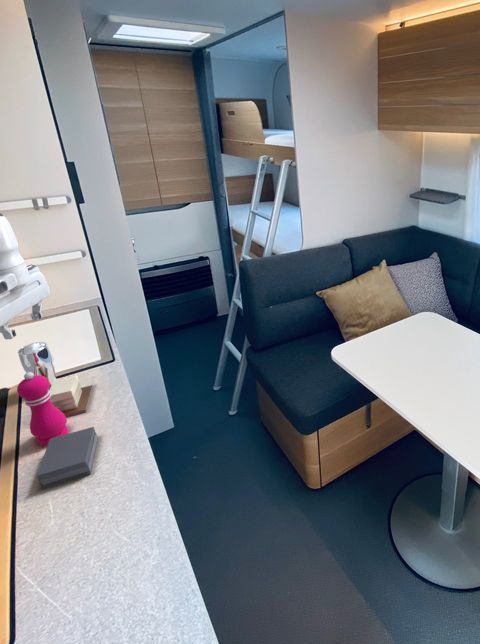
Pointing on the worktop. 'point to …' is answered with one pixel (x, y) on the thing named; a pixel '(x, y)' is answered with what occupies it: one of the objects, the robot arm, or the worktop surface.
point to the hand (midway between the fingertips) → (25, 328)
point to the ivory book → (63, 388)
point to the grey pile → (68, 457)
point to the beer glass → (38, 360)
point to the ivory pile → (75, 401)
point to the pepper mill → (41, 408)
